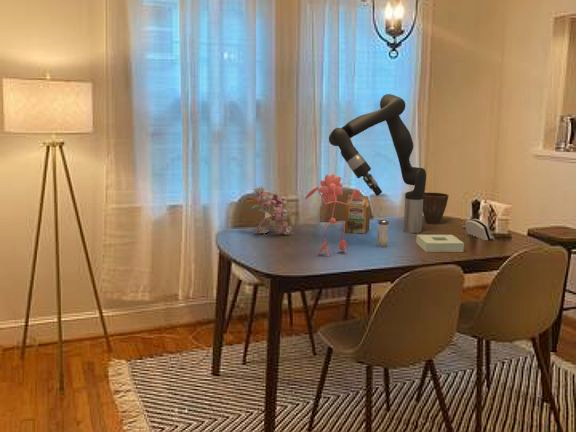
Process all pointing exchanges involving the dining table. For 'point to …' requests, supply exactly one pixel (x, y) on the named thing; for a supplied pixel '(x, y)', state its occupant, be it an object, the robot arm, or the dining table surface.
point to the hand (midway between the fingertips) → (379, 194)
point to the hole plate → (440, 243)
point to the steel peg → (383, 233)
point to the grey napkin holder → (478, 229)
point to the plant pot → (434, 207)
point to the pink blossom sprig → (331, 192)
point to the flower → (277, 212)
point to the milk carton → (357, 215)
